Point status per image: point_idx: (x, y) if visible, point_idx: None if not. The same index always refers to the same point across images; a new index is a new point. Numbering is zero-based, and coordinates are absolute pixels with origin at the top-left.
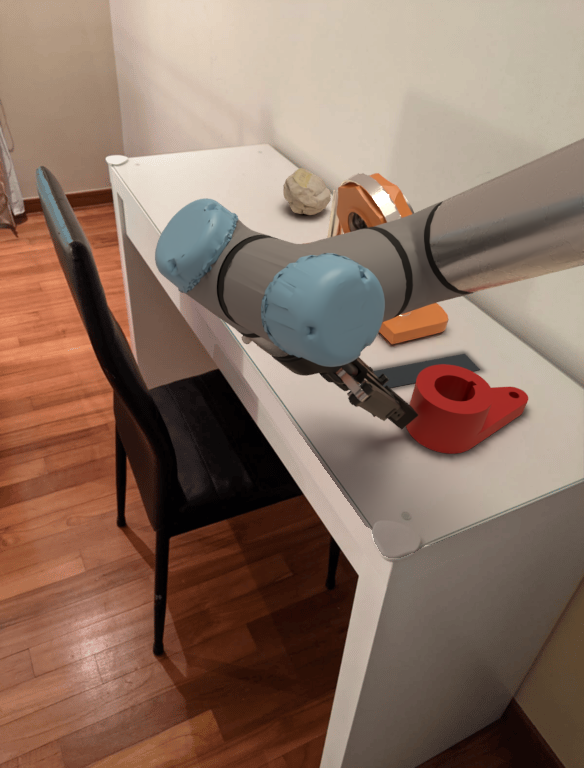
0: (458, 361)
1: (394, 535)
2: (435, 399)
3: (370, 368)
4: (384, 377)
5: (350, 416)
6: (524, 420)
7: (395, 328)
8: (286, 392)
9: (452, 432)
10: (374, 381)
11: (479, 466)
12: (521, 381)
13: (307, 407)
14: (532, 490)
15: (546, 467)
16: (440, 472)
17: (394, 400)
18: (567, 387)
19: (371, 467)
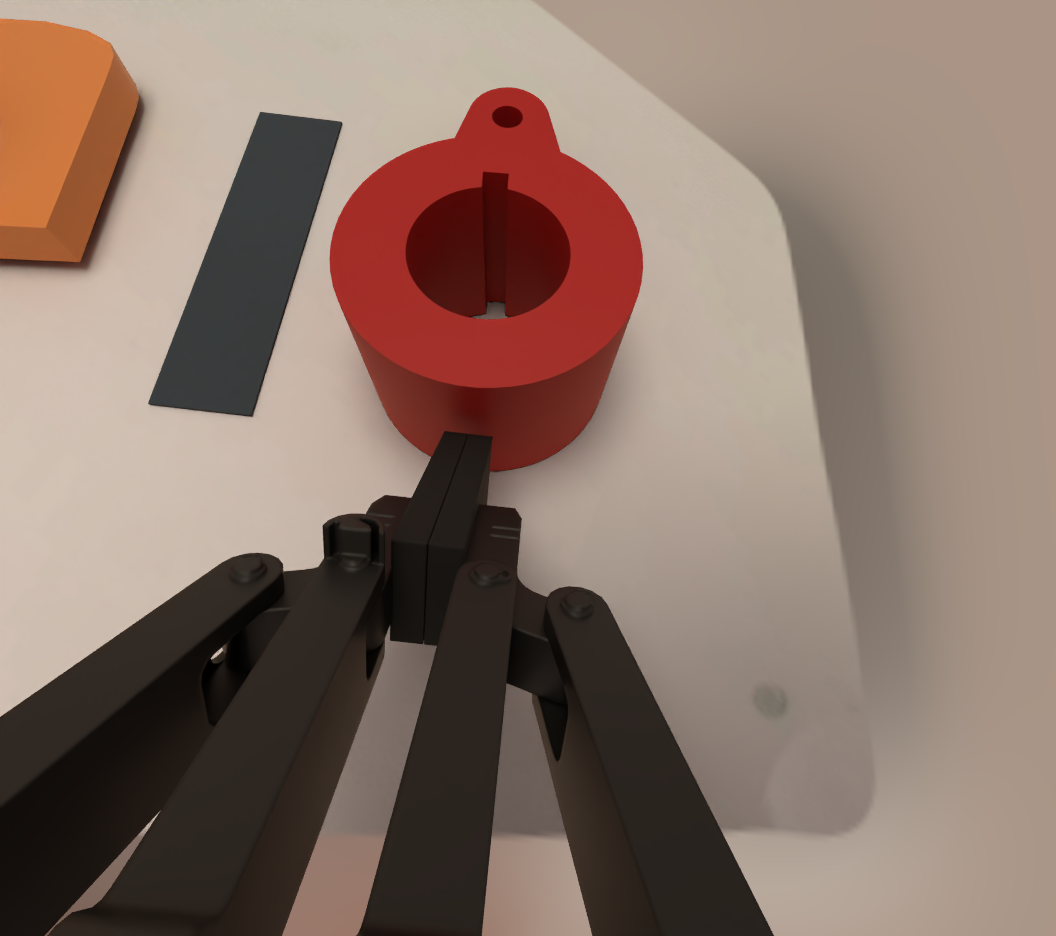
0: (278, 147)
1: (831, 791)
2: (514, 354)
3: (250, 578)
4: (356, 537)
5: None
6: None
7: (22, 206)
8: None
9: (603, 379)
10: (494, 785)
11: (667, 369)
12: (437, 72)
13: None
14: (784, 307)
15: (726, 226)
16: (649, 485)
17: (573, 621)
18: (509, 7)
19: None
